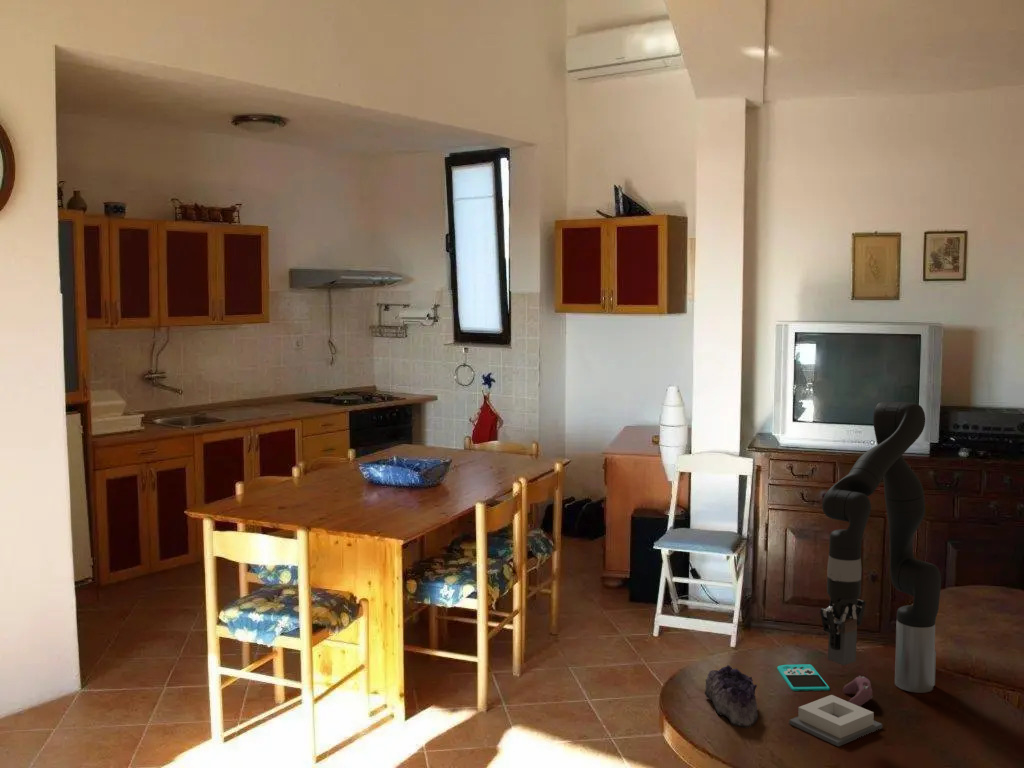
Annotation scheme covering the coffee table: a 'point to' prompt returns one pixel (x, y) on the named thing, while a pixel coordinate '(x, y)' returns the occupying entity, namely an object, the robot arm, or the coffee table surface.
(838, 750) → the coffee table surface
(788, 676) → the handheld game console
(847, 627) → the plug
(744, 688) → the geode
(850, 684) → the video game controller
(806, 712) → the socket
